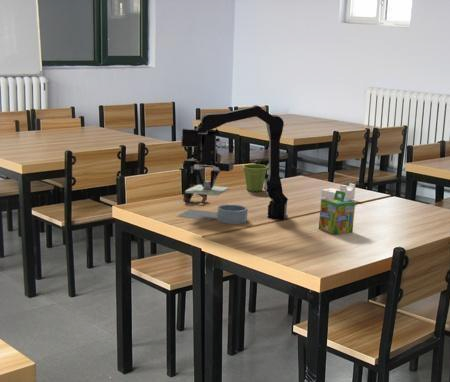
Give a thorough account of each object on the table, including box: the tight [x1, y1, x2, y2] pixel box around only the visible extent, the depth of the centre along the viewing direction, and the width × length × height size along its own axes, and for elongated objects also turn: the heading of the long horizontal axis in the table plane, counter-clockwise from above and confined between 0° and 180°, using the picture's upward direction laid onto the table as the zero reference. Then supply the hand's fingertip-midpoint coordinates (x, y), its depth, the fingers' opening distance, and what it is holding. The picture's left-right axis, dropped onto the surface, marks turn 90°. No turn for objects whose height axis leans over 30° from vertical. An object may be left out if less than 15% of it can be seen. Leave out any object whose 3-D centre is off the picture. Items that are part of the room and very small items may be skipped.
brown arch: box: [182, 184, 208, 204], centre depth 298 cm, size 12×10×8 cm
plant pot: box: [242, 163, 269, 192], centre depth 327 cm, size 12×12×11 cm
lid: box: [184, 180, 230, 197], centre depth 272 cm, size 13×13×4 cm
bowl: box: [216, 204, 249, 225], centre depth 269 cm, size 11×11×5 cm
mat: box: [175, 208, 217, 222], centre depth 275 cm, size 14×14×1 cm
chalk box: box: [318, 189, 356, 235], centre depth 259 cm, size 9×9×15 cm
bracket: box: [320, 183, 356, 201], centre depth 316 cm, size 13×7×8 cm, turn 41°
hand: (207, 187), depth 272 cm, fingers closed on lid, 3 cm apart
